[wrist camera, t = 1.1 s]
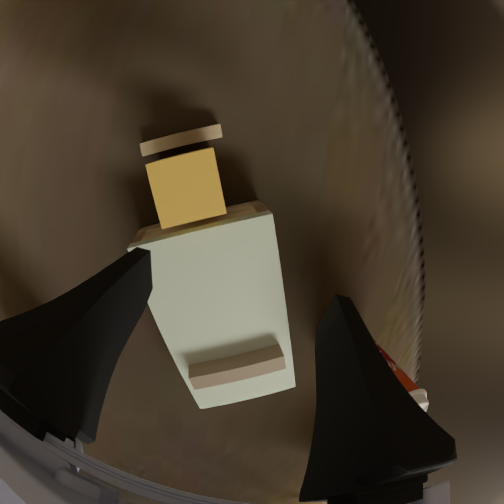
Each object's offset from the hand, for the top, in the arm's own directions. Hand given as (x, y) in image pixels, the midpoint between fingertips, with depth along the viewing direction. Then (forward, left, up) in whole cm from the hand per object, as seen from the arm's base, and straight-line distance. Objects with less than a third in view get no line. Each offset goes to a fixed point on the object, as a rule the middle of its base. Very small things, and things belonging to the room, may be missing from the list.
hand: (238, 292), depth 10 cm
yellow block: (-1, +3, -13) cm, 13 cm away
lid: (-1, -9, -9) cm, 13 cm away
